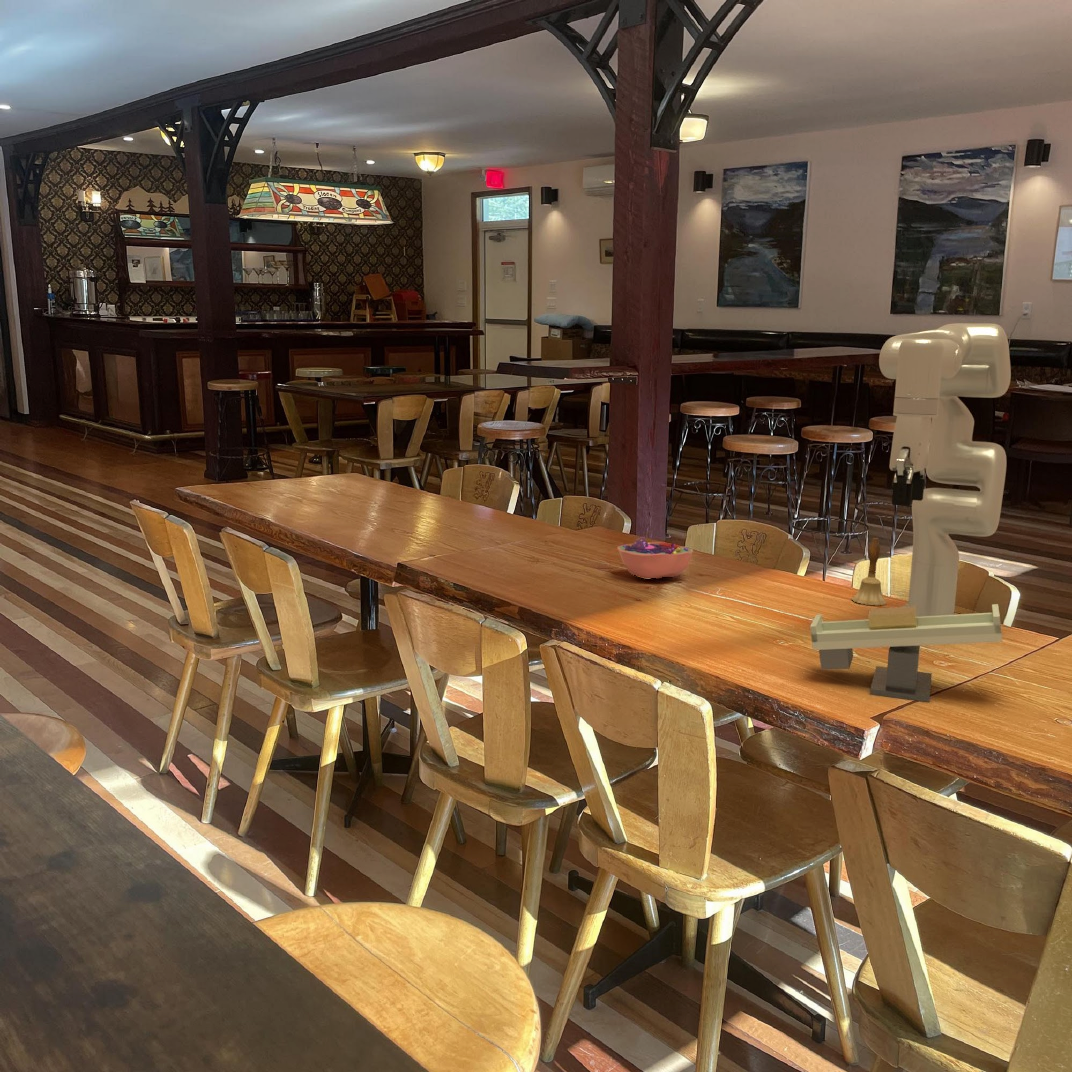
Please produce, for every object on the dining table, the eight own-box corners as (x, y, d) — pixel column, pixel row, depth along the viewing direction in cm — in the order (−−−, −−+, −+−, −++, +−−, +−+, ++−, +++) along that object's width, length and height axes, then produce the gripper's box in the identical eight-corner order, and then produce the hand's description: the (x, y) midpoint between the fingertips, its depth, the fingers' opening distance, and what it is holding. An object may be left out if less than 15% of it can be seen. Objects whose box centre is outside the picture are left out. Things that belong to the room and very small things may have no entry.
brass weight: (870, 636, 184) (867, 615, 183) (872, 629, 188) (870, 608, 188) (916, 634, 181) (914, 612, 180) (917, 627, 185) (915, 606, 185)
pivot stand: (870, 694, 181) (873, 651, 180) (875, 671, 194) (879, 631, 192) (929, 702, 177) (933, 658, 176) (931, 678, 190) (935, 637, 189)
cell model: (696, 587, 259) (698, 544, 257) (618, 585, 259) (619, 542, 257) (687, 572, 275) (689, 531, 273) (614, 570, 276) (616, 530, 273)
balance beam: (815, 670, 187) (810, 626, 186) (821, 657, 195) (816, 614, 194) (1004, 664, 174) (999, 616, 173) (1002, 649, 182) (997, 604, 181)
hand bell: (879, 597, 250) (884, 534, 247) (892, 606, 242) (897, 541, 239) (846, 597, 250) (851, 534, 247) (858, 606, 242) (863, 541, 239)
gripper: (905, 406, 190) (897, 496, 193) (882, 408, 176) (874, 505, 179) (947, 408, 186) (938, 499, 189) (927, 410, 172) (918, 509, 175)
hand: (907, 502), depth 184 cm, fingers open, 9 cm apart
